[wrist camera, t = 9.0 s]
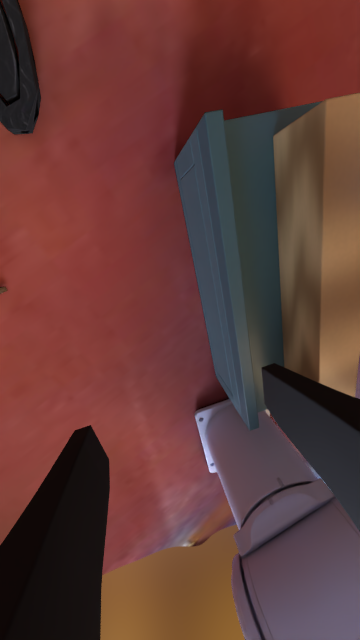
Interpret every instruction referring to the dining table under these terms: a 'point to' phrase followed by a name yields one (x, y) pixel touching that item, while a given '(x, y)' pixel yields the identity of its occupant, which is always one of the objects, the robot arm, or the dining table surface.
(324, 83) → the dining table surface
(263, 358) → the shelf
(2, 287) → the place setting
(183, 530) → the dining table surface
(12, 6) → the hairbrush
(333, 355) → the stick
